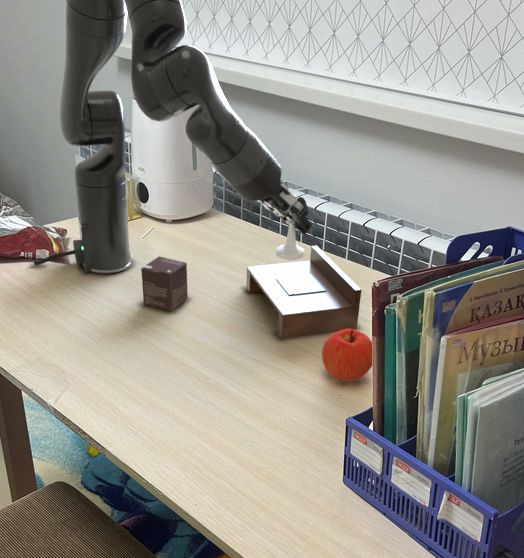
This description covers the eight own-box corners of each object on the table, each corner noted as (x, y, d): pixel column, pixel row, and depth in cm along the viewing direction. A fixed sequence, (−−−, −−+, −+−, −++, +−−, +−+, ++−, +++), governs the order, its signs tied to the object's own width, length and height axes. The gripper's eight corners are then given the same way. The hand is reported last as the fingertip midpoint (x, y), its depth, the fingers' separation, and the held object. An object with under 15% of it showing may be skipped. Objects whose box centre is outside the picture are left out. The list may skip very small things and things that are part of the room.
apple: (368, 361, 111) (374, 317, 107) (374, 389, 104) (381, 343, 100) (318, 359, 111) (322, 315, 107) (321, 387, 104) (326, 341, 100)
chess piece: (273, 248, 116) (277, 190, 111) (302, 248, 117) (307, 190, 111) (276, 260, 112) (280, 200, 107) (306, 260, 112) (311, 200, 107)
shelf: (281, 338, 116) (283, 298, 113) (246, 288, 133) (247, 251, 129) (356, 328, 120) (361, 289, 117) (313, 280, 137) (316, 245, 133)
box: (188, 299, 128) (188, 262, 124) (171, 312, 123) (170, 274, 119) (160, 291, 130) (159, 255, 126) (142, 304, 125) (140, 267, 121)
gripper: (290, 153, 96) (344, 221, 109) (231, 131, 105) (288, 196, 118) (258, 196, 95) (316, 259, 108) (202, 170, 105) (262, 231, 118)
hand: (301, 226), depth 113 cm, fingers closed on chess piece
